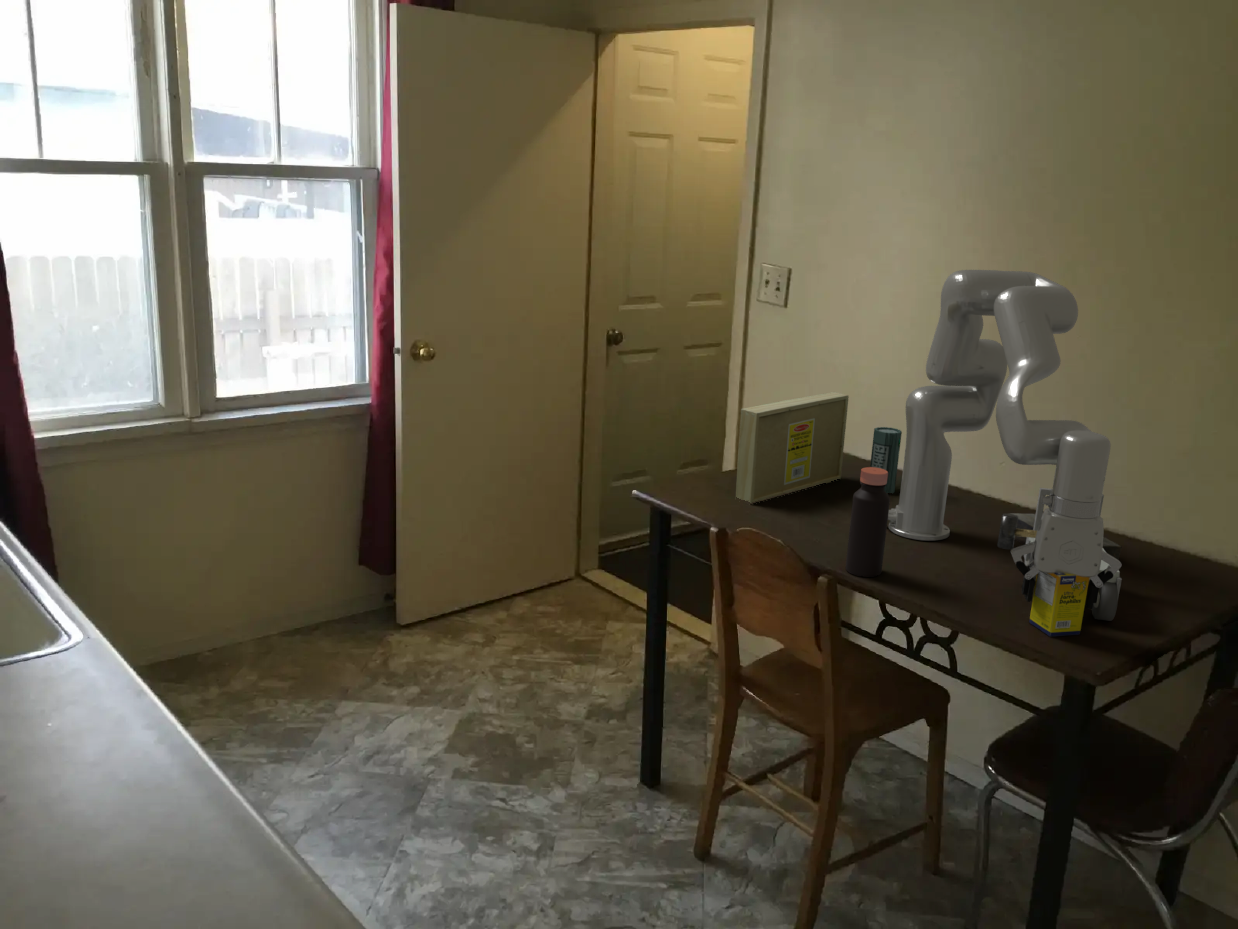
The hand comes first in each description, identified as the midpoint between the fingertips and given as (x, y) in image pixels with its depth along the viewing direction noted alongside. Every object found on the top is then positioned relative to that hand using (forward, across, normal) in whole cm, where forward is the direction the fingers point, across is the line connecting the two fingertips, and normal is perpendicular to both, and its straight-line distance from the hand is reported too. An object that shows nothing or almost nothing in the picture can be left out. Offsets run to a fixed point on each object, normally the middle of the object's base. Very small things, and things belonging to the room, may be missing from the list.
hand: (1057, 602), depth 176 cm
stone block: (+6, +9, +44) cm, 45 cm away
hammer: (-3, -2, +18) cm, 18 cm away
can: (+5, -26, +74) cm, 79 cm away
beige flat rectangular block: (+6, -48, +67) cm, 82 cm away
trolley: (+5, +5, +15) cm, 16 cm away
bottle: (+5, -31, +17) cm, 36 cm away
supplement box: (+5, 0, 0) cm, 5 cm away
